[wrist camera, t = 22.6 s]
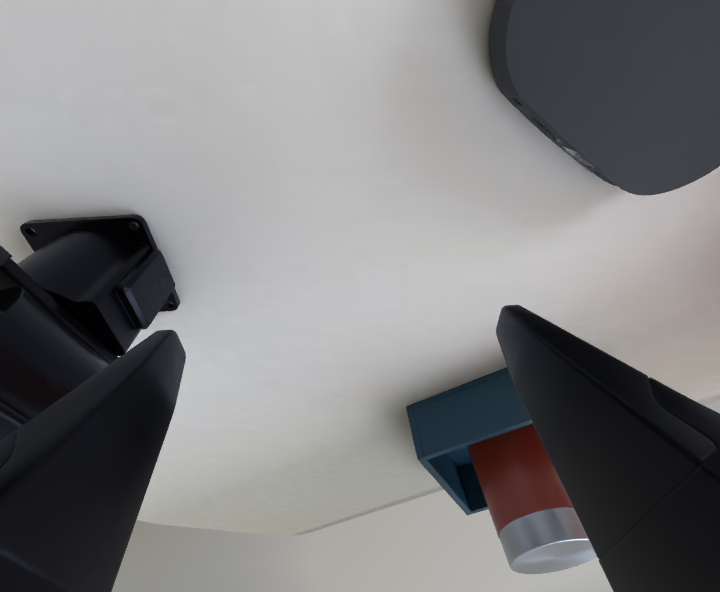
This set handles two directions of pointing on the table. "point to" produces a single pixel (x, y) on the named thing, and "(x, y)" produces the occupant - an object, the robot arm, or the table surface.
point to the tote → (464, 432)
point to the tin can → (529, 503)
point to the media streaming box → (617, 83)
